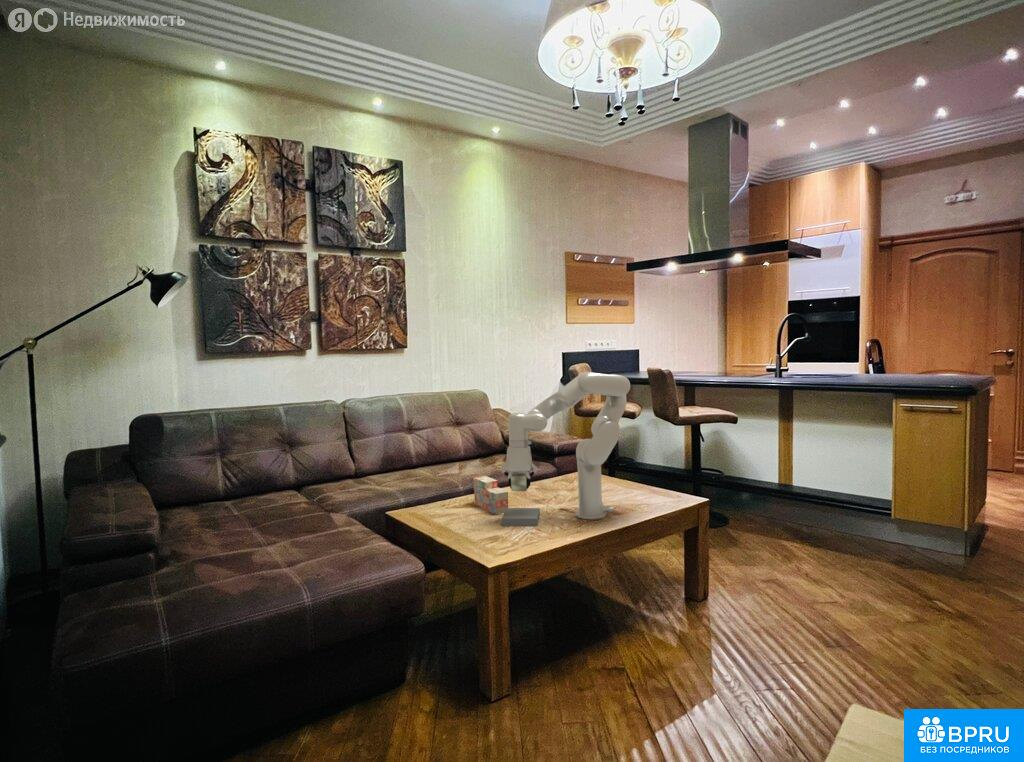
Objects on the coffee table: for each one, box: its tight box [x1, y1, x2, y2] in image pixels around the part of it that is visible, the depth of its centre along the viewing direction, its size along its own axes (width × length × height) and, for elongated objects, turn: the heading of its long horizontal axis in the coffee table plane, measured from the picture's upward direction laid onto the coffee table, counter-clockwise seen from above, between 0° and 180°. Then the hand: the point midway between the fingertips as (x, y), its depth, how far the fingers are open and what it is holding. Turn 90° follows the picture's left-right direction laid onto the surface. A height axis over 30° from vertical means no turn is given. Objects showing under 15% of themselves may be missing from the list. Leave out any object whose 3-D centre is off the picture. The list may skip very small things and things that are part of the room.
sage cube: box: [510, 472, 528, 493], centre depth 222 cm, size 6×6×6 cm
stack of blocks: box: [472, 475, 509, 516], centre depth 241 cm, size 21×6×12 cm, turn 29°
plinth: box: [501, 507, 541, 527], centre depth 222 cm, size 14×14×3 cm
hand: (519, 487), depth 222 cm, fingers closed on sage cube, 6 cm apart
